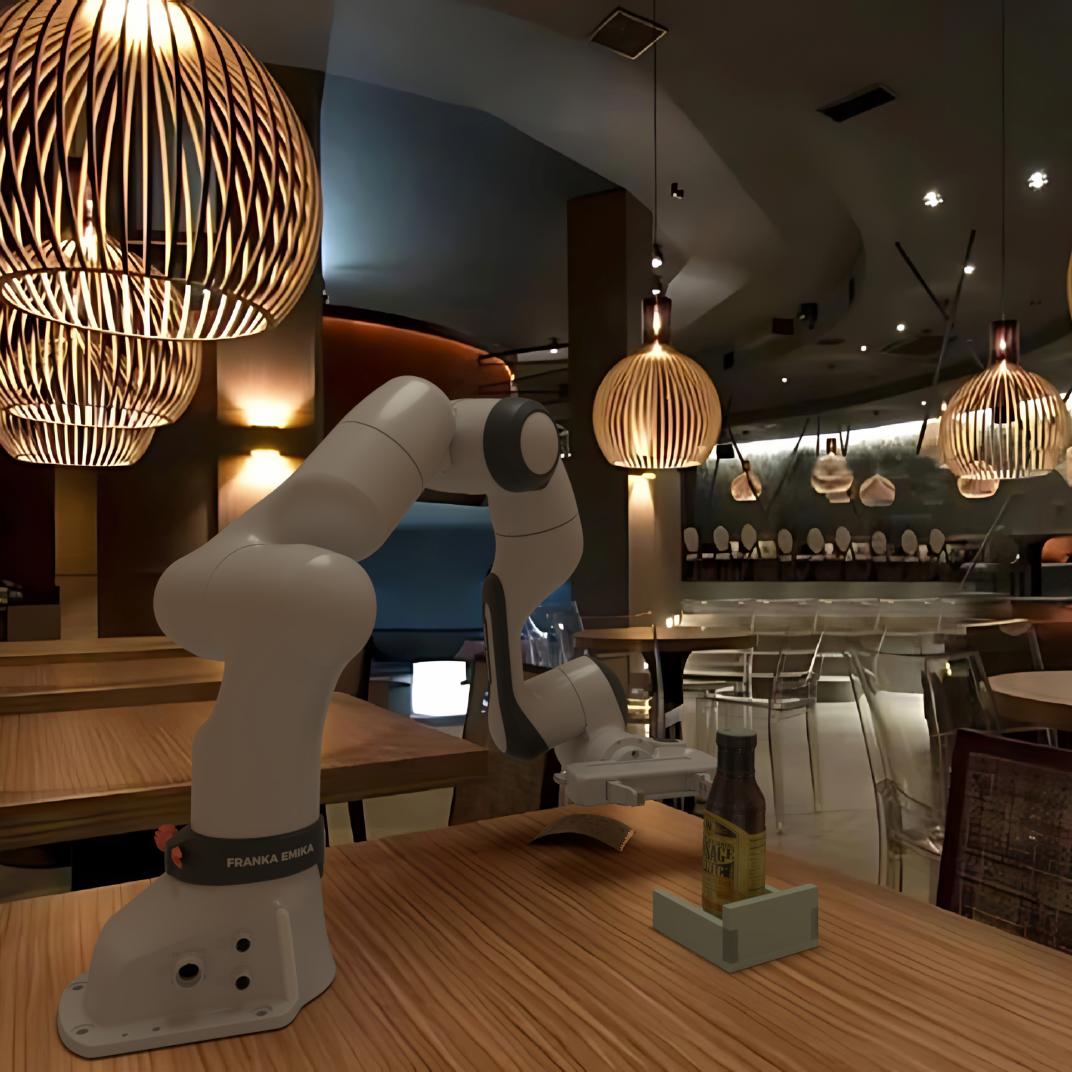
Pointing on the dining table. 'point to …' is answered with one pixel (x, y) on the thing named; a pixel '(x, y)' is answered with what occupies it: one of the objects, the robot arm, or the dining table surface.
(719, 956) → the caddy
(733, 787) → the sauce bottle
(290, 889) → the robot arm
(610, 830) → the grey curved piece
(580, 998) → the dining table surface
